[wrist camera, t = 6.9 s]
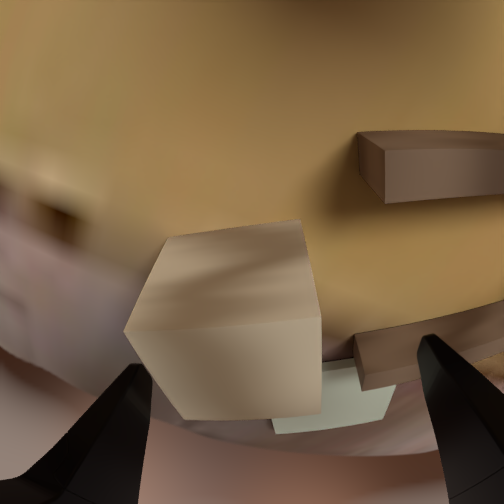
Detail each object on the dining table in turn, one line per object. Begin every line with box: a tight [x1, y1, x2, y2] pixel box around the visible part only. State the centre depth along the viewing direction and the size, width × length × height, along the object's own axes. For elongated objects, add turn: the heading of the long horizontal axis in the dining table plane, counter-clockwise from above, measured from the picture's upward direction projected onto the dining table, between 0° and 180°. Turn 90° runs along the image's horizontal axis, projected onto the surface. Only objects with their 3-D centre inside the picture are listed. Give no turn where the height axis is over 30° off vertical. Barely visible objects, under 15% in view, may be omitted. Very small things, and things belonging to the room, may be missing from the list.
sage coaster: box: [272, 358, 396, 434], centre depth 17 cm, size 8×8×1 cm
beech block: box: [123, 219, 322, 421], centre depth 10 cm, size 5×5×5 cm
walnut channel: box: [353, 130, 504, 392], centre depth 10 cm, size 10×11×2 cm
